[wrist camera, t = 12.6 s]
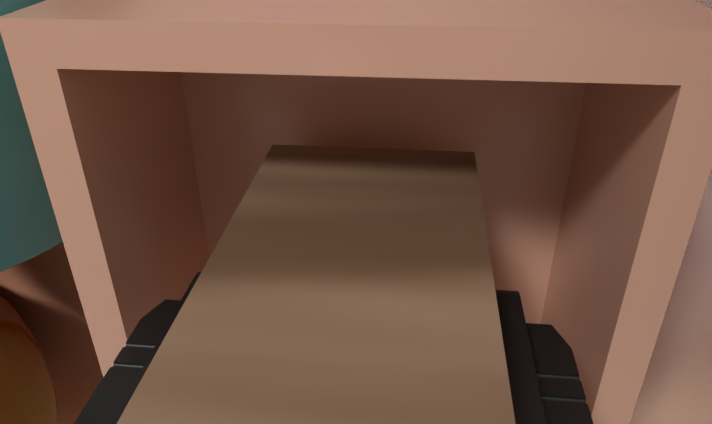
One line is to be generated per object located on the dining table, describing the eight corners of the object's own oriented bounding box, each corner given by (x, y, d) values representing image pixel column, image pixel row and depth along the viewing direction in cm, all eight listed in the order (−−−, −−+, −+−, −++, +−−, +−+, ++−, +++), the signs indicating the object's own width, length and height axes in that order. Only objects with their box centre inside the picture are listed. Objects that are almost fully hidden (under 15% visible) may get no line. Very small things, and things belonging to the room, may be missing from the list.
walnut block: (272, 144, 12) (-9, 648, 4) (474, 152, 12) (561, 717, 4) (285, 302, 14) (108, 837, 6) (458, 312, 14) (494, 895, 6)
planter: (143, -35, 13) (-4, 18, 8) (636, -31, 12) (755, 32, 7) (205, 329, 18) (133, 479, 13) (554, 353, 17) (597, 523, 12)
